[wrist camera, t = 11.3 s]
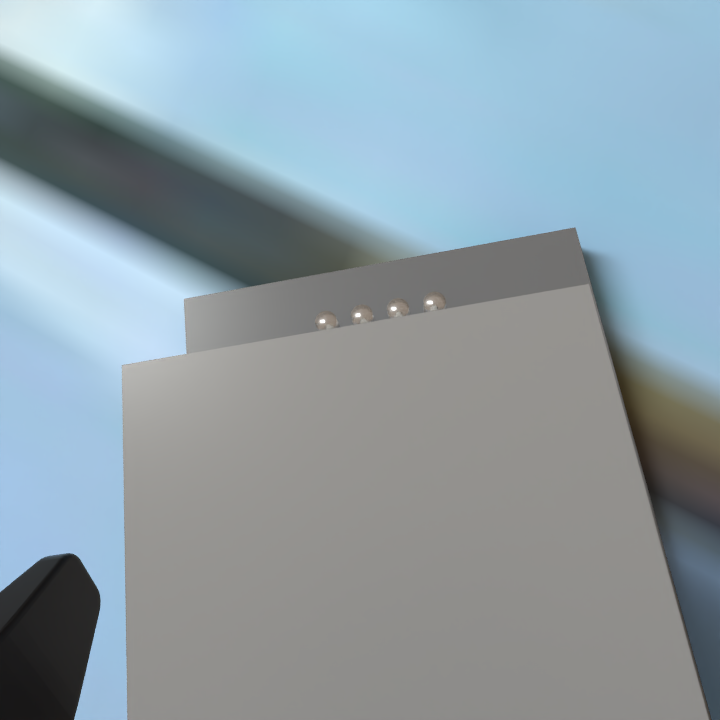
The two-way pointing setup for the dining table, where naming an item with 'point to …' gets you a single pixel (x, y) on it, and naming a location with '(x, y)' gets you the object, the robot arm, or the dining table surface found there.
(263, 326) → the socket board
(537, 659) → the plug
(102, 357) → the dining table surface
